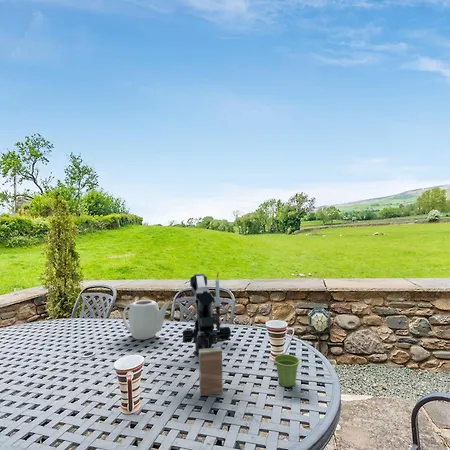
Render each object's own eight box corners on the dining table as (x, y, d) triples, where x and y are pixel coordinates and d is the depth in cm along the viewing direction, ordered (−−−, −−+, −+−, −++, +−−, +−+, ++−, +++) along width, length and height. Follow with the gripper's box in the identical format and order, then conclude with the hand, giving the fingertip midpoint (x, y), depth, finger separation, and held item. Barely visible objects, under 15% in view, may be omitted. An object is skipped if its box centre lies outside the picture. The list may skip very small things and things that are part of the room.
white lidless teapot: (166, 342, 158) (165, 305, 158) (116, 341, 161) (116, 305, 162) (174, 332, 174) (173, 298, 174) (129, 331, 177) (128, 298, 177)
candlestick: (227, 334, 169) (225, 270, 169) (230, 341, 158) (228, 272, 158) (207, 335, 167) (206, 270, 168) (209, 342, 157) (207, 273, 157)
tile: (199, 391, 110) (198, 349, 111) (221, 388, 112) (220, 347, 112) (200, 396, 107) (199, 352, 107) (223, 393, 108) (222, 350, 108)
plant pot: (301, 378, 118) (300, 355, 118) (298, 391, 109) (298, 366, 109) (276, 375, 121) (276, 353, 121) (272, 387, 112) (271, 363, 112)
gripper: (182, 309, 120) (183, 348, 109) (229, 306, 123) (235, 344, 112) (182, 323, 128) (183, 361, 117) (226, 320, 131) (231, 357, 120)
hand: (208, 355), depth 116 cm, fingers closed
